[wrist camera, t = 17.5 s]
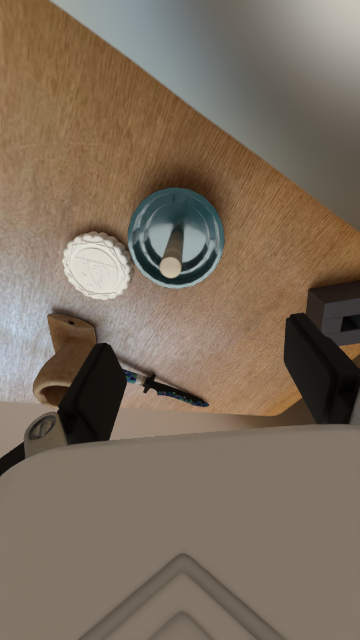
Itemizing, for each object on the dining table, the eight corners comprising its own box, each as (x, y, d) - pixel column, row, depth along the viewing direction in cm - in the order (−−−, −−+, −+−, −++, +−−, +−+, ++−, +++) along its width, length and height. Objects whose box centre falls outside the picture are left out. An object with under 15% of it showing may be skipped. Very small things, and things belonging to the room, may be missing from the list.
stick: (168, 232, 36) (156, 259, 22) (182, 229, 36) (178, 254, 22) (171, 246, 37) (162, 280, 24) (185, 243, 37) (183, 276, 23)
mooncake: (70, 285, 43) (61, 293, 39) (69, 222, 36) (58, 225, 33) (129, 300, 44) (125, 308, 41) (138, 241, 38) (134, 246, 35)
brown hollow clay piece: (108, 367, 54) (83, 422, 42) (60, 360, 53) (20, 414, 41) (107, 317, 46) (77, 367, 34) (51, 308, 46) (-1, 355, 33)
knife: (105, 362, 52) (100, 377, 48) (110, 355, 50) (106, 370, 47) (201, 401, 63) (204, 415, 60) (208, 396, 62) (211, 410, 58)
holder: (308, 289, 41) (325, 303, 36) (365, 279, 40) (391, 292, 35) (304, 331, 47) (318, 348, 42) (354, 323, 45) (375, 341, 40)
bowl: (124, 200, 34) (113, 202, 29) (213, 177, 32) (217, 175, 27) (149, 282, 42) (144, 295, 37) (223, 267, 40) (228, 279, 35)
